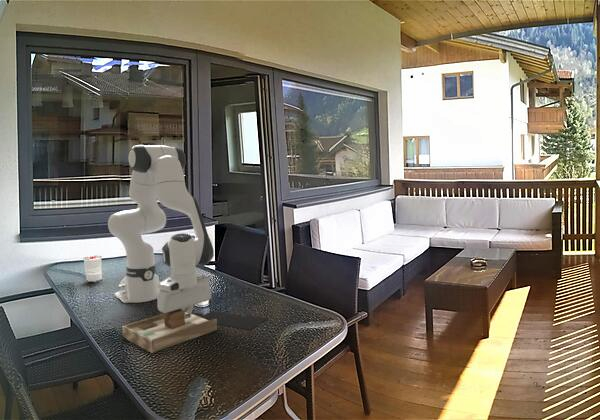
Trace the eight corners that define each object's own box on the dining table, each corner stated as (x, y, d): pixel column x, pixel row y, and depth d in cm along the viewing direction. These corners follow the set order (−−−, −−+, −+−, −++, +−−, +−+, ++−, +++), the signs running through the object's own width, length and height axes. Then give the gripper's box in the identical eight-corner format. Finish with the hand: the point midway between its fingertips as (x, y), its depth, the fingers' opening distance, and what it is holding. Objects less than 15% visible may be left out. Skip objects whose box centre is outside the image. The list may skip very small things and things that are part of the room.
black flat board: (250, 329, 165) (182, 318, 178) (250, 331, 165) (183, 319, 178) (267, 318, 176) (203, 308, 189) (267, 319, 176) (203, 309, 189)
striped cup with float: (82, 280, 237) (80, 257, 235) (99, 277, 242) (97, 254, 241) (89, 284, 229) (87, 260, 228) (106, 280, 235) (104, 257, 233)
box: (122, 337, 161) (122, 326, 161) (186, 317, 179) (185, 307, 179) (151, 353, 148) (150, 340, 147) (217, 329, 166) (216, 318, 165)
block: (164, 325, 164) (163, 312, 164) (177, 321, 168) (175, 307, 167) (172, 329, 161) (171, 315, 160) (185, 324, 164) (183, 310, 164)
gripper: (203, 272, 176) (205, 308, 177) (153, 285, 161) (156, 324, 163) (213, 275, 171) (215, 312, 173) (163, 288, 157) (166, 328, 158)
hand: (186, 318), depth 168 cm, fingers closed
